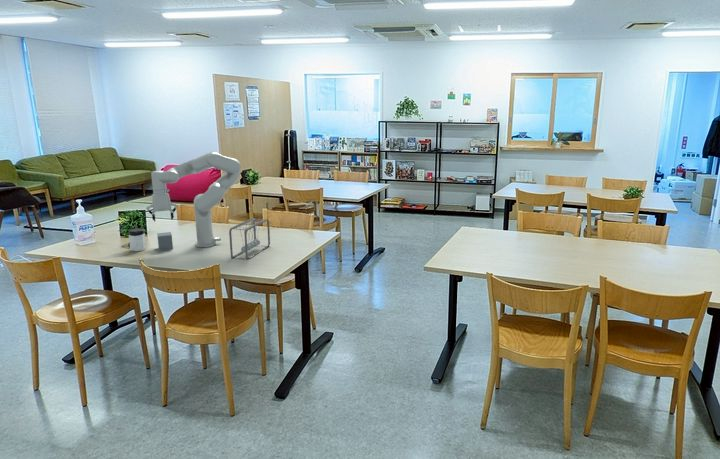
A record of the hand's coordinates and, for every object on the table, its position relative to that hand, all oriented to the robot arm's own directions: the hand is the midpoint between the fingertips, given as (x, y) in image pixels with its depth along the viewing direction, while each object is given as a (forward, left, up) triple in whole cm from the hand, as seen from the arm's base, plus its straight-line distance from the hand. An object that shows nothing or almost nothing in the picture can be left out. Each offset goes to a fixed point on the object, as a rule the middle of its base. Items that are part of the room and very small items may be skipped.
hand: (163, 220), depth 297 cm
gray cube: (0, 0, -17) cm, 17 cm away
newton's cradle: (-45, +30, -18) cm, 57 cm away
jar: (+15, -4, -18) cm, 24 cm away
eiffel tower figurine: (+19, -16, -18) cm, 31 cm away
